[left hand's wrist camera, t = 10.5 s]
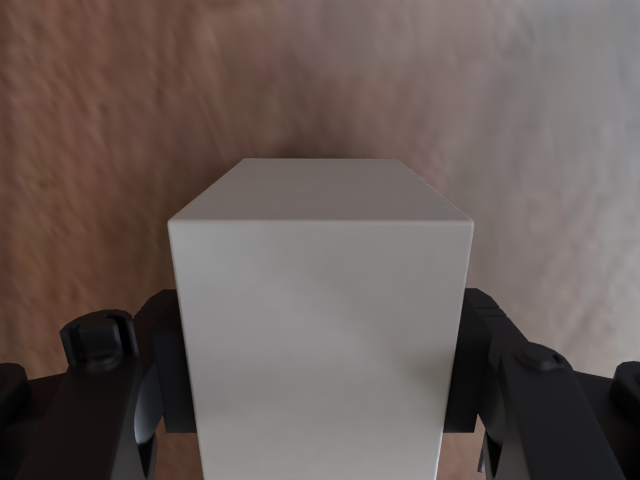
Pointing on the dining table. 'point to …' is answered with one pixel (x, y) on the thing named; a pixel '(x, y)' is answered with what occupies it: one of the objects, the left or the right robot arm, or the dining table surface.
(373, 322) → the post
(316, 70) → the dining table surface
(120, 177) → the dining table surface
